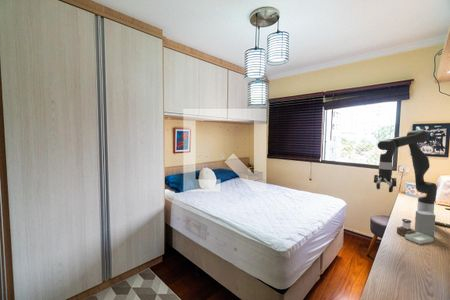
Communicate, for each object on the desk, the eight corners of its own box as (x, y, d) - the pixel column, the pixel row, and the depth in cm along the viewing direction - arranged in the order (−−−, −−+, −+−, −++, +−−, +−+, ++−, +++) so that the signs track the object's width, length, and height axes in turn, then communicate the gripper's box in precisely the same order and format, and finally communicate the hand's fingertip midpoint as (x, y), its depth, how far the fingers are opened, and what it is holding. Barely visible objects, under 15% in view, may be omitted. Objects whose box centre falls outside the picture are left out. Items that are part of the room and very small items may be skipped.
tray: (418, 235, 140) (418, 232, 140) (433, 241, 132) (433, 237, 132) (404, 238, 136) (405, 234, 136) (419, 244, 128) (419, 240, 128)
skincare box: (428, 233, 144) (430, 211, 143) (435, 238, 137) (436, 215, 136) (413, 231, 146) (415, 209, 146) (419, 235, 140) (420, 213, 139)
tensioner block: (403, 231, 146) (404, 226, 146) (415, 236, 139) (415, 230, 139) (396, 232, 144) (397, 227, 144) (407, 237, 138) (408, 231, 137)
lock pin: (404, 232, 145) (405, 218, 144) (412, 235, 140) (413, 221, 140) (399, 233, 144) (400, 219, 143) (407, 236, 139) (408, 222, 138)
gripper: (400, 169, 140) (398, 192, 141) (379, 166, 153) (378, 188, 154) (392, 170, 138) (390, 193, 139) (371, 167, 151) (370, 188, 152)
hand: (384, 190), depth 147 cm, fingers open, 8 cm apart
